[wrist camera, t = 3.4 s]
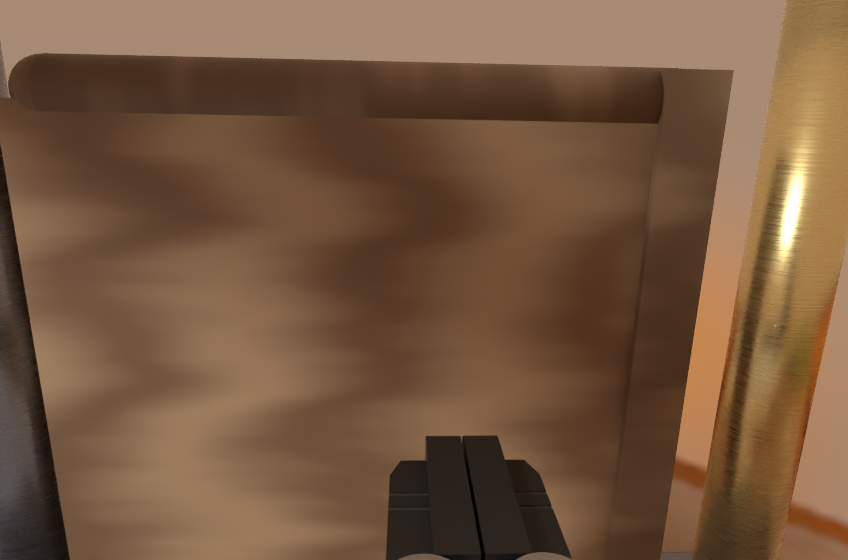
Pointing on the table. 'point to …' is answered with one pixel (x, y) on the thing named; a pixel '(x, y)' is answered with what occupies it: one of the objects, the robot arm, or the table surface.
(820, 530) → the table surface
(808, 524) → the table surface
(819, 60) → the gate frame
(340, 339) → the gate panel
